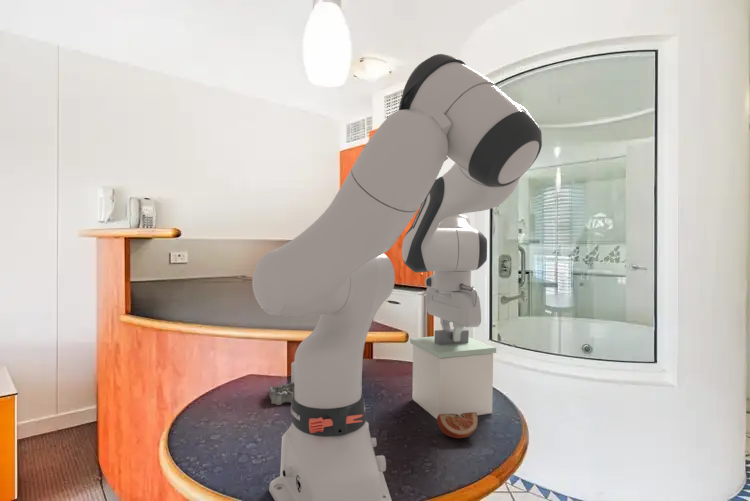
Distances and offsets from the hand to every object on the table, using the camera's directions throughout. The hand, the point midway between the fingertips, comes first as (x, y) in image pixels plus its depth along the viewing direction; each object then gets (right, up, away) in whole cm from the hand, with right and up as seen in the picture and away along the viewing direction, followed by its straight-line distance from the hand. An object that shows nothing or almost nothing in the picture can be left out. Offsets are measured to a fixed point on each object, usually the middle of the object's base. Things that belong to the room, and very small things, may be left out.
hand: (451, 339), depth 103 cm
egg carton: (-40, -16, +4) cm, 43 cm away
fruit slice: (-2, -17, -16) cm, 24 cm away
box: (0, -16, 0) cm, 16 cm away
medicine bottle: (-36, -16, +13) cm, 42 cm away
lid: (0, -2, 0) cm, 2 cm away
